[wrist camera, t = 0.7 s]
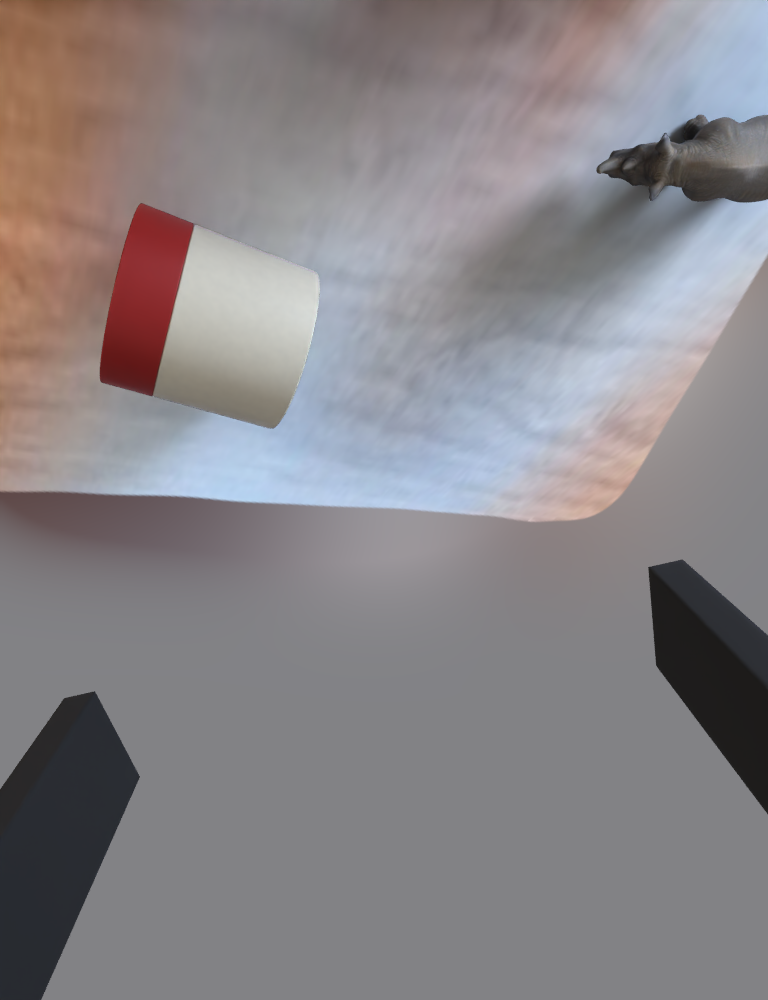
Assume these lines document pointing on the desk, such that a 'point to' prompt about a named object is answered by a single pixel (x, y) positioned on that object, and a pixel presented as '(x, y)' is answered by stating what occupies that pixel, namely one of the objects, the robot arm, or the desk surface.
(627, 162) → the rhino figurine
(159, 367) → the canister
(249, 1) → the desk surface
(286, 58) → the desk surface
